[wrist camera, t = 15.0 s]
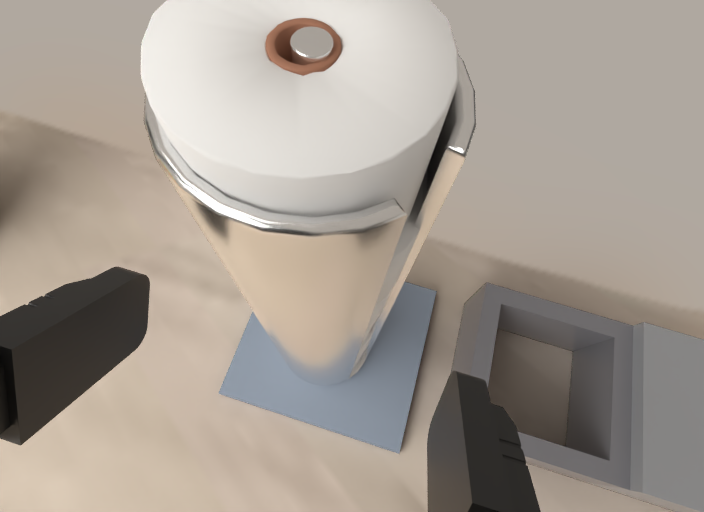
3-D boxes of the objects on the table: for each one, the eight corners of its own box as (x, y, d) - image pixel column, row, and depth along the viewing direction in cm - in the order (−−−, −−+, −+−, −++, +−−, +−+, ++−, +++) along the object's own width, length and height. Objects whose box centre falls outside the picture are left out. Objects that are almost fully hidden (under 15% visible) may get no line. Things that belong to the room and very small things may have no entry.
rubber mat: (221, 394, 29) (218, 393, 28) (281, 248, 34) (280, 244, 33) (397, 453, 28) (399, 453, 27) (434, 294, 33) (436, 291, 32)
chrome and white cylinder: (292, 398, 28) (132, 252, 5) (272, 311, 31) (101, -51, 8) (381, 371, 29) (567, 150, 6) (354, 288, 32) (421, -89, 9)
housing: (438, 434, 28) (464, 434, 23) (464, 303, 32) (491, 277, 27) (699, 519, 27) (793, 541, 22) (693, 372, 31) (771, 359, 26)
